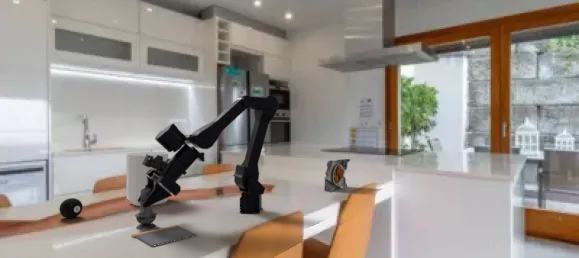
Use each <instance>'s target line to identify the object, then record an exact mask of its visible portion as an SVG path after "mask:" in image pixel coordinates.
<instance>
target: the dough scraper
mask: <svg viewBox="0 0 579 258" xmlns="http://www.w3.org/2000/svg"><path fill="white" fill-rule="evenodd" d="M195 235H197V236H198V233H197V234H196V233H194V232H192V231H190V230H187V229H185V228H184V227H183V228H182V227H181V226H180V225H179V224H174V225H171V226H170V225H169V226H166V227H161V228H155V229H153V230H151V229H150V230H148V231H143V232H138V233H134V234H131V236H130V237H131V238H133V239H134V238H136V239H137V240H139V241H140V242H142V241H143V242H142V243H144V242H145V243H144V244H146V243H147V244H148V245H147V244H146V245H147V246H149V245H151V246H154V245H158V244H162V243H166V244H168V243H167V242H170V243H172V242H171V241H174V240H178V241H180V240H179V239H182V240H184V239H183V238H186V237H190V238H193V237H192V236H194V237H196V236H195ZM186 239H187V238H186ZM174 242H175V241H174ZM162 245H163V244H162ZM151 246H150V247H151ZM158 246H159V245H158ZM154 247H155V246H154Z"/></svg>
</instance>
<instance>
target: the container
mask: <svg viewBox="0 0 579 258" xmlns="http://www.w3.org/2000/svg"><path fill="white" fill-rule="evenodd" d="M146 154H147V155H150V156H152V157H154V156H156V155H159V156H162V157H163V161H165V160H166V159H169V152H165V151H141V152H140V151H139V152H129V153H127V154H126V157H125V158H126V161H125V163H126V165H125V166H126V168H125V169H126V171H125V172H126V200H127V199H128V200H130V201H132V202H133V203H134V204H135V205H136V207H138V206H139V207H140V203H139V202H138V199H139V197H140V195H141V190H142V189H144V188H145V185H147V178H146V176H148V175H147V174H146V173H147V172H148V171H149V170H150V169H154V168H151V167H147V166H144V165H142V163H143V161H144V159H145V157H146ZM148 177H149V176H148ZM167 199H168V200H169V197H168V198H165V199H163V200H161V201H159V202H156V203H154V204H152V206H157V205H161V204H165V203H167V202H168V201H167ZM166 201H167V202H166Z"/></svg>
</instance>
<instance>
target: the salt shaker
mask: <svg viewBox="0 0 579 258" xmlns="http://www.w3.org/2000/svg"><path fill="white" fill-rule="evenodd" d="M150 193H151V189H149V188H147V185H145V188H144V189H142V190H141V200H140V201H139V202H140V206H139V207H140V208H139V209H140V210H139V212H138V213H136V214H134V217H135V219H136V221H137V223H139V224H138V225H137V226H136V229H137V230H140V231H141V230H144V231H145V230H151V229H155V228H156V227H157V224H155V223H154V222H155V220H156V218H157V215H158V212H157V211H154V210H153V205H150V206H148V207H146V208H144V207H143V206H142V204H143V203H144V201H145V200H146V198H147V197H148V196H149V194H150Z"/></svg>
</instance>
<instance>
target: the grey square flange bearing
mask: <svg viewBox="0 0 579 258" xmlns="http://www.w3.org/2000/svg"><path fill="white" fill-rule="evenodd" d="M350 161H351V159H350V158H345V159H344V158H343V159H336V160H332V159H330V160H328V161H327V162H325V163H326V171H325V173H324V174H325V177H324V191H325V192H328V193H332V191H334V189H341V188H347V187H348V184H347V183H346V180H347V178H346V177H345V172H346V171H347V169H348V163H349V162H350Z"/></svg>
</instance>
